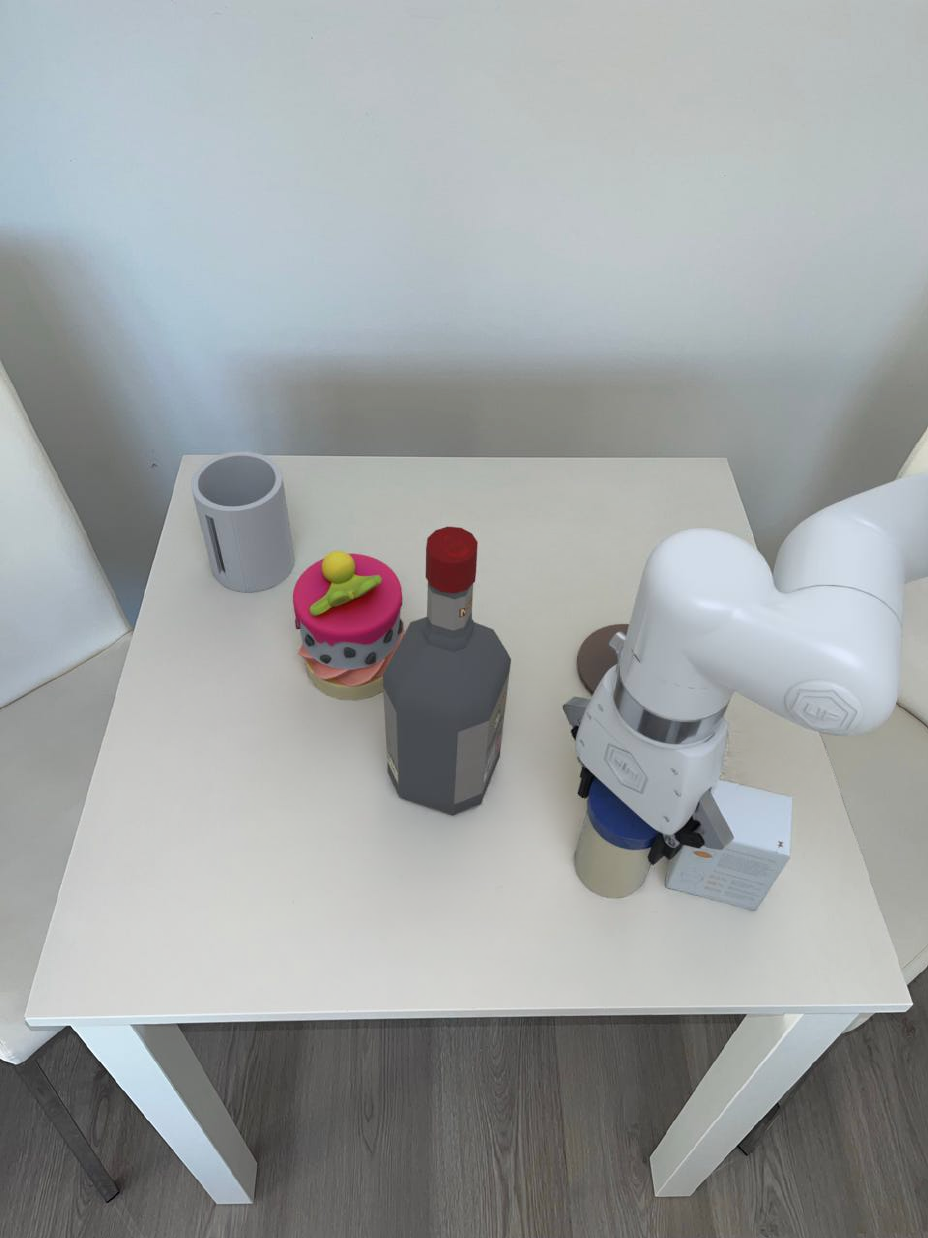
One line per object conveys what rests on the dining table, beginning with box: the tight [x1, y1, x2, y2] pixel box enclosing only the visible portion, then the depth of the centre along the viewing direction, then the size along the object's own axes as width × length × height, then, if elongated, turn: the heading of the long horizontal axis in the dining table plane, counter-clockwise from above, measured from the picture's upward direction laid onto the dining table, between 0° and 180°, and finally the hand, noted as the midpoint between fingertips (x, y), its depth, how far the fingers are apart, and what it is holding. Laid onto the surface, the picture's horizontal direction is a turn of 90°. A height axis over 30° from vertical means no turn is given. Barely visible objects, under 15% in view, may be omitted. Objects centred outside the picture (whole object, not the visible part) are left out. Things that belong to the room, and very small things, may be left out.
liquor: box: [383, 526, 512, 816], centre depth 76 cm, size 9×9×30 cm
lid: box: [586, 776, 660, 850], centre depth 74 cm, size 7×7×2 cm
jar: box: [573, 810, 652, 899], centre depth 78 cm, size 6×6×11 cm
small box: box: [664, 779, 794, 911], centre depth 78 cm, size 8×6×10 cm
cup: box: [190, 450, 296, 593], centre depth 100 cm, size 9×9×12 cm
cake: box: [292, 550, 405, 701], centre depth 90 cm, size 10×11×15 cm
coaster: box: [576, 623, 629, 696], centre depth 96 cm, size 11×11×1 cm
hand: (627, 818), depth 76 cm, fingers closed on lid, 7 cm apart
